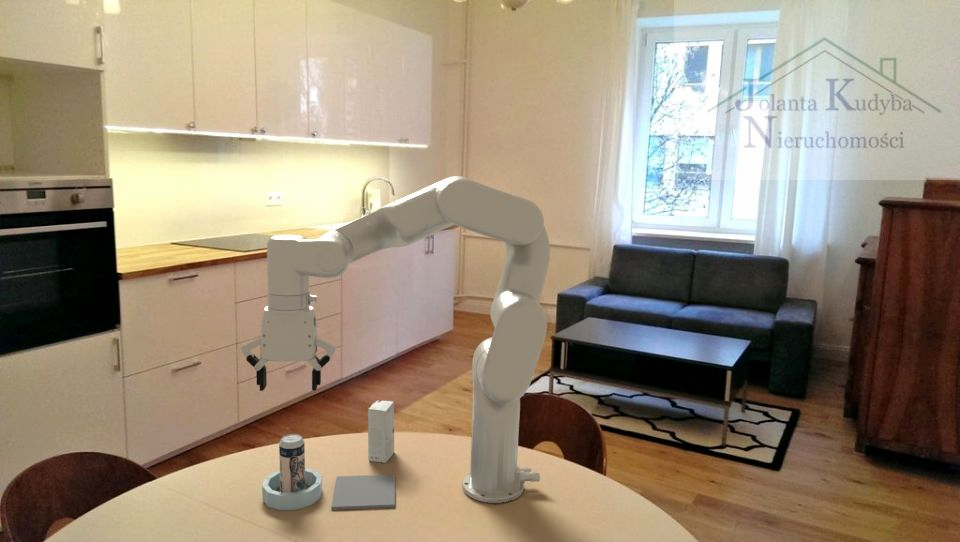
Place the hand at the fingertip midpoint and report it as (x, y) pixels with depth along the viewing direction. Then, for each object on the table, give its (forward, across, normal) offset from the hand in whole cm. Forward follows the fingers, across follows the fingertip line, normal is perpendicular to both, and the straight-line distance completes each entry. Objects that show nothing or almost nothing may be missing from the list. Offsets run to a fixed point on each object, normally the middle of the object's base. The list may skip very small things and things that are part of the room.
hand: (289, 388), depth 127 cm
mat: (+22, -15, 0) cm, 26 cm away
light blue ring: (+22, -1, 0) cm, 22 cm away
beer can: (+22, -1, 0) cm, 22 cm away
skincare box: (+22, -18, -16) cm, 33 cm away
